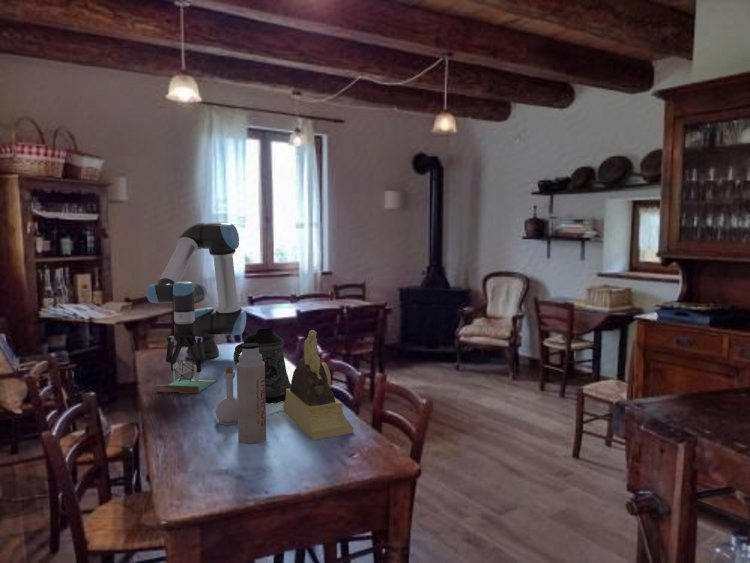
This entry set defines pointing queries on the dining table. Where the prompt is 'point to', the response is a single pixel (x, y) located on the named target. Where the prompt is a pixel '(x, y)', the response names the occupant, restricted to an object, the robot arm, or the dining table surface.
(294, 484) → the dining table surface
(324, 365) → the seated figure statue
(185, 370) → the game die
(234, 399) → the potion bottle
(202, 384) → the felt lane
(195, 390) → the walnut backstop rail
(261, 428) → the thermos bottle
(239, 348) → the beer stein
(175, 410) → the dining table surface
